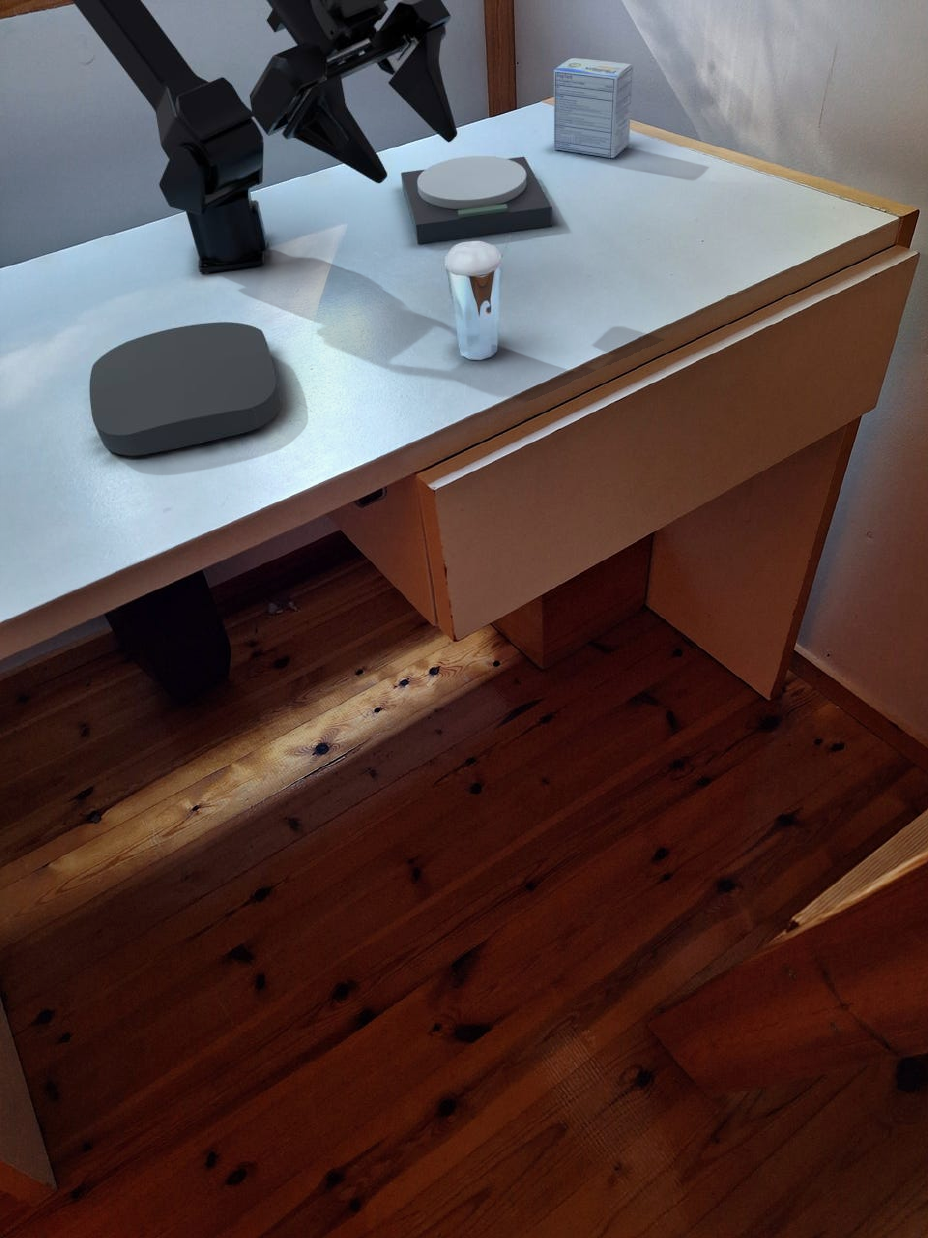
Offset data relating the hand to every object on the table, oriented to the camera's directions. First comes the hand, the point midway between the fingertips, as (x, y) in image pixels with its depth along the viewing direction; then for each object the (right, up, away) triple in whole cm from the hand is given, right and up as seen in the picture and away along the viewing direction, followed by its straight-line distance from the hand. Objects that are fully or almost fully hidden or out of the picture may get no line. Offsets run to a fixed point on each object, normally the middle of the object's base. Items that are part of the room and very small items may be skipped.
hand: (419, 158), depth 72 cm
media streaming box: (-19, -18, +4) cm, 27 cm away
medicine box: (+19, +19, +35) cm, 44 cm away
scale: (+5, +8, +26) cm, 27 cm away
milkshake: (+5, -14, +6) cm, 16 cm away
